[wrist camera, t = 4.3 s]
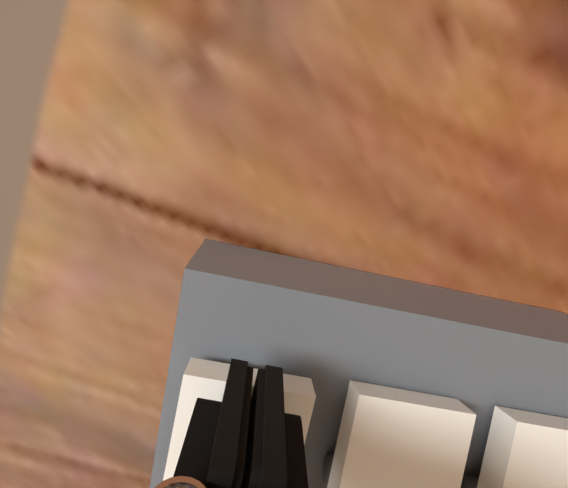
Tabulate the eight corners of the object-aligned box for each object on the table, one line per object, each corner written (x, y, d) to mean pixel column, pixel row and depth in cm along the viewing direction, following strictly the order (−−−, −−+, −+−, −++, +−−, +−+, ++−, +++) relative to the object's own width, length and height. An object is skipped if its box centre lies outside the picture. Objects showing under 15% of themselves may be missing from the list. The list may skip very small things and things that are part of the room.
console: (563, 312, 18) (673, 374, 13) (463, 522, 21) (520, 633, 16) (205, 238, 16) (177, 278, 11) (164, 480, 20) (129, 588, 15)
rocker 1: (311, 378, 13) (316, 399, 12) (265, 566, 14) (266, 605, 13) (190, 357, 12) (182, 376, 11) (153, 552, 13) (141, 591, 12)
